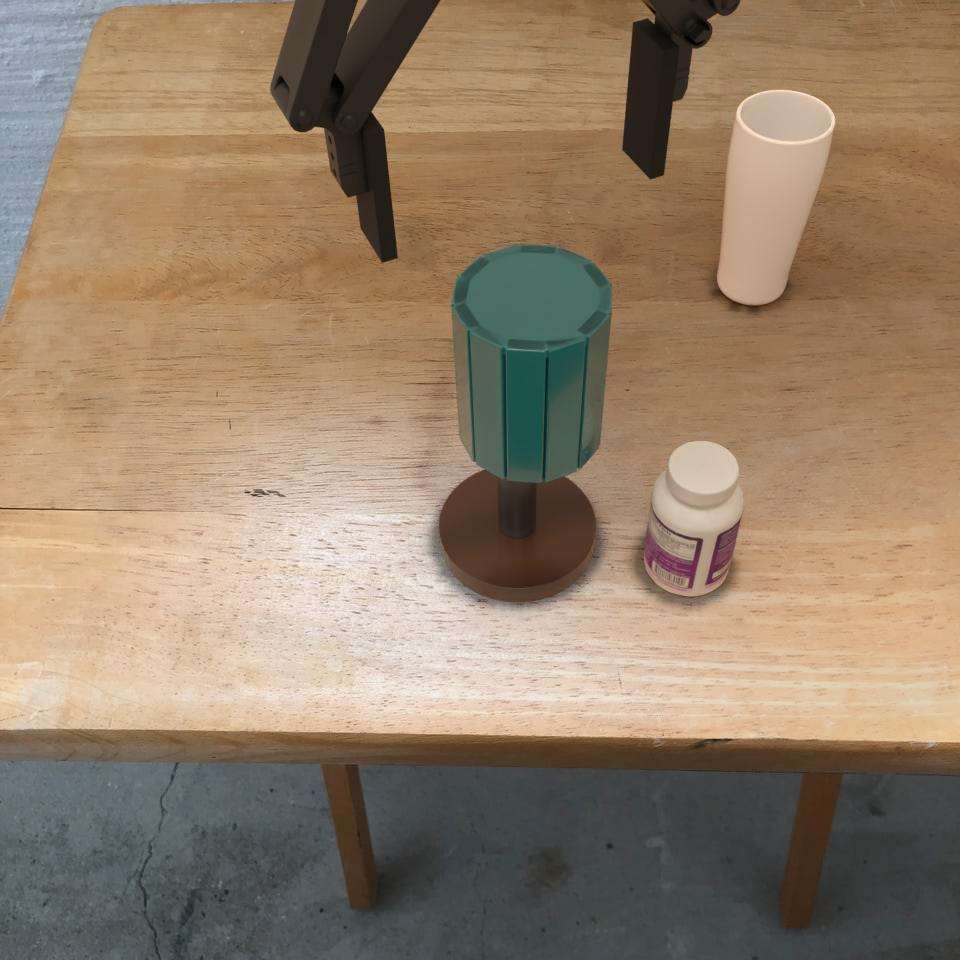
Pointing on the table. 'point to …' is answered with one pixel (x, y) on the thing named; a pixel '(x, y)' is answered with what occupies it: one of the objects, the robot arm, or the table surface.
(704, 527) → the pill bottle
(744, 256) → the drinking glass
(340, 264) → the table surface
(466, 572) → the towel holder
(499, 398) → the teal fluted cylinder
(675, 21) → the robot arm
